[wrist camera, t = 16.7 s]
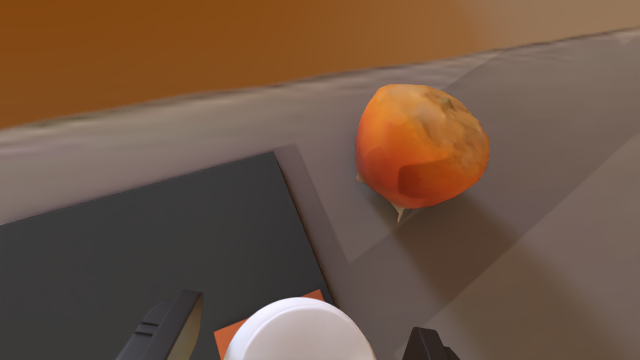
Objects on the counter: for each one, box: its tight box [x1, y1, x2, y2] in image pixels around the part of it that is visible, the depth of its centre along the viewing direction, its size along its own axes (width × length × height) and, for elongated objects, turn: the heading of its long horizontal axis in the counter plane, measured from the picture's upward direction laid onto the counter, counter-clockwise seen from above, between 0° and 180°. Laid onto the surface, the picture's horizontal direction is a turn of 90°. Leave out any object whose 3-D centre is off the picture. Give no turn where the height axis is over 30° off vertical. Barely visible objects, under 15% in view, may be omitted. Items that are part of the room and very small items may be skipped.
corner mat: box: [0, 151, 335, 360], centre depth 19 cm, size 16×16×1 cm
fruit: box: [355, 84, 490, 222], centre depth 22 cm, size 8×8×8 cm
